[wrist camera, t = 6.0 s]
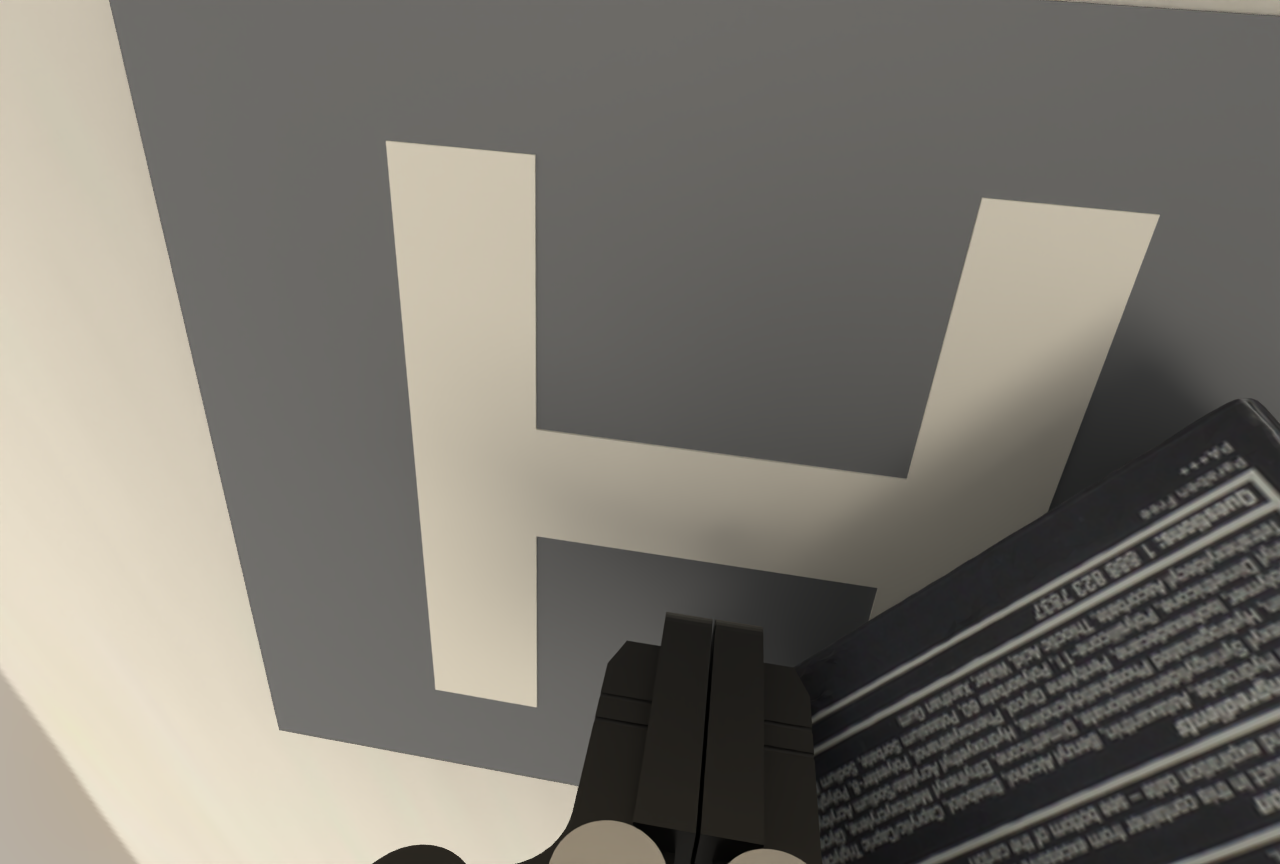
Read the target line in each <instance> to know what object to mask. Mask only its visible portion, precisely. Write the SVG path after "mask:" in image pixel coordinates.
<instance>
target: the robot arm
mask: <svg viewBox="0 0 1280 864" xmlns="http://www.w3.org/2000/svg"><path fill="white" fill-rule="evenodd" d="M712 624H713V619H709V618H703V617H697V616H691V615H684V614H678V613H672V612H666V616H665V622H664V629H663V635H662V641H661V646H657V645H651V644H645V643H639V642H633V641H626V642H625V643H624V645H623V646H622V647H621V648H620V649H619V650H618V652H617V653H616V654H615V655H614V656H613V657H612V659H611V660H610V661H609V662H608V663H607V667H606V672H605V676H604V680H603V684H602V689H601V694H600V698H599V702H598V706H597V710H596V714H595V720H594V723H593V727H592V731H591V736H590V740H589V744H588V748H587V753H586V757H585V761H584V766H583V770H582V774H581V778H580V783H579V787H578V791H577V795H576V800H575V804H574V808H573V812H572V815H571V818H570V821H569V823H568V825H567V827H566V829H565V830H564V832H563V833H562V835H561V836H560V837H559V839H558V840H557V841H556V842H555V843H554V844H553V845H552V846H551V847H549V848H548V849H547V850H545V851H544V852H543V853H541V854H539V855H537V856H535V857H534V858H532V859H529V860H526V861H524V862H521V863H517V864H822V857H821V844H820V830H819V816H818V802H817V788H816V774H815V760H814V759H813V757H814V745H813V734H812V717H811V703H810V696H809V694H808V692H807V690H806V688H805V687H804V685H803V683H802V681H801V679H800V677H799V676H798V674H797V672H796V670H795V668H794V667H787V666H781V665H775V664H769V663H764V647H763V627H761V626H755V625H748V624H742V623H736V622H729V621H723V620H717V619H715V622H714V627H713V632H712ZM711 637H712V638H711ZM373 864H466V863H465V862H464V861H463V860H462V859H461V858H460V857H459V856H457V855H456V854H454V853H453V852H451V851H449V850H447V849H445V848H442V847H438V846H434V845H413V846H408V847H404V848H400V849H398V850H395V851H393V852H391V853H389V854H387V855H385V856H384V857H382V858H380V859H379V860H377V861H376V862H374V863H373Z"/></svg>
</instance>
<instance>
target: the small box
mask: <svg viewBox="0 0 1280 864" xmlns="http://www.w3.org/2000/svg"><path fill="white" fill-rule="evenodd" d="M794 668H795V670H796V672H797V674H798V676H799V677H800V679H801V681H802V683H803V685H804V687H805V688H806V690H807V692H808V694H809V696H810V703H811V717H812V734H813V745H814V757H813V759H814V760H815V774H816V788H817V802H818V816H819V830H820V844H821V857H822V864H1280V423H1279V422H1278V421H1277V420H1276V419H1275V418H1274V416H1273V415H1272V414H1271V413H1270V412H1269V411H1268V410H1267V409H1266V407H1265V406H1263V405H1262V404H1261V403H1260V402H1259V401H1257V400H1255V399H1252V398H1241V399H1235V400H1233V401H1230V402H1228V403H1226V404H1224V405H1222V406H1220V407H1219V408H1217V409H1215V410H1213V411H1211V412H1210V413H1208V414H1206V415H1204V416H1203V417H1201V418H1200V419H1198V420H1196V421H1195V422H1193V423H1191V424H1190V425H1188V426H1187V427H1185V428H1184V429H1182V430H1181V431H1179V432H1178V433H1176V434H1175V435H1173V436H1171V437H1170V438H1168V439H1167V440H1165V441H1164V442H1162V443H1160V444H1159V445H1157V446H1155V447H1154V448H1152V449H1150V450H1149V451H1147V452H1145V453H1144V454H1142V455H1140V456H1138V457H1137V458H1135V459H1132V460H1130V461H1128V462H1127V463H1126V464H1124V465H1123V466H1122V467H1120V468H1118V469H1117V470H1115V471H1113V472H1111V473H1109V474H1108V475H1106V476H1105V477H1104V478H1102V479H1101V480H1100V481H1098V482H1096V483H1094V484H1093V485H1091V486H1089V487H1087V488H1085V489H1083V490H1082V491H1080V492H1079V493H1077V494H1076V495H1074V496H1073V497H1071V498H1070V499H1068V500H1066V501H1064V502H1063V503H1061V504H1059V505H1058V506H1056V507H1055V508H1053V509H1052V510H1050V511H1049V512H1047V513H1045V514H1044V515H1042V516H1041V517H1039V518H1038V519H1036V520H1034V521H1033V522H1031V523H1029V524H1028V525H1026V526H1024V527H1023V528H1021V529H1019V530H1017V531H1016V532H1014V533H1012V534H1011V535H1009V536H1007V537H1006V538H1004V539H1002V540H1001V541H999V542H998V543H996V544H994V545H993V546H991V547H989V548H988V549H986V550H985V551H983V552H982V553H980V554H979V555H977V556H976V557H974V558H972V559H970V560H968V561H966V562H965V563H963V564H962V565H960V566H958V567H957V568H955V569H954V570H952V571H951V572H949V573H948V574H946V575H945V576H943V577H941V578H939V579H937V580H936V581H934V582H932V583H930V584H929V585H927V586H926V587H924V588H923V589H921V590H919V591H918V592H916V593H914V594H912V595H910V596H909V597H907V598H906V599H904V600H903V601H901V602H900V603H898V604H896V605H895V606H893V607H891V608H889V609H887V610H886V611H884V612H882V613H881V614H879V615H877V616H876V617H874V618H873V619H871V620H869V621H868V622H866V623H864V624H862V625H861V626H860V627H858V628H857V629H855V630H854V631H852V632H850V633H847V634H846V635H844V636H843V637H841V638H840V639H838V640H837V641H835V642H834V643H832V644H830V645H829V646H827V647H826V648H824V649H822V650H821V651H819V652H817V653H815V654H814V655H812V656H810V657H808V658H807V659H805V660H804V661H802V662H800V663H799V664H797V665H796V666H794Z"/></svg>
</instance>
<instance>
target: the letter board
mask: <svg viewBox="0 0 1280 864" xmlns="http://www.w3.org/2000/svg"><path fill="white" fill-rule="evenodd" d="M109 2H110V6H111V10H112V15H113V19H114V23H115V28H116V32H117V36H118V40H119V45H120V49H121V53H122V58H123V62H124V66H125V70H126V75H127V79H128V83H129V88H130V92H131V96H132V100H133V105H134V109H135V113H136V118H137V122H138V126H139V130H140V135H141V139H142V143H143V148H144V152H145V156H146V161H147V165H148V169H149V173H150V178H151V182H152V186H153V191H154V195H155V199H156V203H157V208H158V212H159V216H160V221H161V225H162V229H163V233H164V238H165V242H166V246H167V251H168V255H169V259H170V263H171V268H172V272H173V276H174V281H175V285H176V289H177V293H178V298H179V302H180V306H181V311H182V315H183V319H184V324H185V328H186V332H187V336H188V341H189V345H190V349H191V354H192V358H193V362H194V366H195V371H196V375H197V379H198V384H199V388H200V392H201V396H202V401H203V405H204V409H205V414H206V418H207V422H208V426H209V431H210V435H211V439H212V444H213V448H214V452H215V456H216V461H217V465H218V469H219V474H220V478H221V482H222V486H223V491H224V495H225V499H226V504H227V508H228V512H229V517H230V521H231V525H232V529H233V534H234V538H235V542H236V547H237V551H238V555H239V559H240V564H241V568H242V572H243V577H244V581H245V585H246V589H247V594H248V598H249V602H250V607H251V611H252V615H253V619H254V624H255V628H256V632H257V637H258V641H259V645H260V649H261V654H262V658H263V662H264V667H265V671H266V675H267V680H268V684H269V688H270V692H271V697H272V701H273V705H274V710H275V714H276V718H277V722H278V727H279V730H282V731H287V732H293V733H298V734H303V735H309V736H314V737H319V738H325V739H330V740H335V741H341V742H346V743H351V744H357V745H362V746H367V747H373V748H378V749H383V750H389V751H394V752H399V753H405V754H410V755H415V756H421V757H426V758H431V759H437V760H442V761H447V762H453V763H458V764H463V765H469V766H474V767H479V768H485V769H490V770H495V771H501V772H506V773H511V774H517V775H522V776H527V777H533V778H538V779H543V780H549V781H554V782H559V783H565V784H570V785H575V786H579V783H580V778H581V774H582V770H583V766H584V761H585V757H586V753H587V748H588V744H589V740H590V736H591V731H592V727H593V723H594V720H595V714H596V710H597V706H598V702H599V698H600V694H601V689H602V684H603V680H604V676H605V672H606V667H607V663H608V662H609V661H610V660H611V659H612V657H613V656H614V655H615V654H616V653H617V652H618V650H619V649H620V648H621V647H622V646H623V645H624V643H625V642H626V641H633V642H639V643H645V644H651V645H657V646H661V641H662V635H663V629H664V622H665V616H666V612H672V613H678V614H684V615H691V616H697V617H703V618H709V619H713V624H712V632H713V627H714V622H715V619H717V620H723V621H729V622H736V623H742V624H748V625H755V626H761V627H763V647H764V663H769V664H775V665H781V666H787V667H794V666H796V665H797V664H799V663H800V662H802V661H804V660H805V659H807V658H808V657H810V656H812V655H814V654H815V653H817V652H819V651H821V650H822V649H824V648H826V647H827V646H829V645H830V644H832V643H834V642H835V641H837V640H838V639H840V638H841V637H843V636H844V635H846V634H847V633H850V632H852V631H854V630H855V629H857V628H858V627H860V626H861V625H862V624H864V623H866V622H868V621H869V620H871V619H873V618H874V617H876V616H877V615H879V614H881V613H882V612H884V611H886V610H887V609H889V608H891V607H893V606H895V605H896V604H898V603H900V602H901V601H903V600H904V599H906V598H907V597H909V596H910V595H912V594H914V593H916V592H918V591H919V590H921V589H923V588H924V587H926V586H927V585H929V584H930V583H932V582H934V581H936V580H937V579H939V578H941V577H943V576H945V575H946V574H948V573H949V572H951V571H952V570H954V569H955V568H957V567H958V566H960V565H962V564H963V563H965V562H966V561H968V560H970V559H972V558H974V557H976V556H977V555H979V554H980V553H982V552H983V551H985V550H986V549H988V548H989V547H991V546H993V545H994V544H996V543H998V542H999V541H1001V540H1002V539H1004V538H1006V537H1007V536H1009V535H1011V534H1012V533H1014V532H1016V531H1017V530H1019V529H1021V528H1023V527H1024V526H1026V525H1028V524H1029V523H1031V522H1033V521H1034V520H1036V519H1038V518H1039V517H1041V516H1042V515H1044V514H1045V513H1047V512H1049V511H1050V510H1052V509H1053V508H1055V507H1056V506H1058V505H1059V504H1061V503H1063V502H1064V501H1066V500H1068V499H1070V498H1071V497H1073V496H1074V495H1076V494H1077V493H1079V492H1080V491H1082V490H1083V489H1085V488H1087V487H1089V486H1091V485H1093V484H1094V483H1096V482H1098V481H1100V480H1101V479H1102V478H1104V477H1105V476H1106V475H1108V474H1109V473H1111V472H1113V471H1115V470H1117V469H1118V468H1120V467H1122V466H1123V465H1124V464H1126V463H1127V462H1128V461H1130V460H1132V459H1135V458H1137V457H1138V456H1140V455H1142V454H1144V453H1145V452H1147V451H1149V450H1150V449H1152V448H1154V447H1155V446H1157V445H1159V444H1160V443H1162V442H1164V441H1165V440H1167V439H1168V438H1170V437H1171V436H1173V435H1175V434H1176V433H1178V432H1179V431H1181V430H1182V429H1184V428H1185V427H1187V426H1188V425H1190V424H1191V423H1193V422H1195V421H1196V420H1198V419H1200V418H1201V417H1203V416H1204V415H1206V414H1208V413H1210V412H1211V411H1213V410H1215V409H1217V408H1219V407H1220V406H1222V405H1224V404H1226V403H1228V402H1230V401H1233V400H1235V399H1241V398H1252V399H1255V400H1257V401H1259V402H1260V403H1261V404H1262V405H1263V406H1265V407H1266V409H1267V410H1268V411H1269V412H1270V413H1271V414H1272V415H1273V416H1274V418H1275V419H1276V420H1277V421H1278V422H1279V423H1280V16H1270V15H1255V14H1241V13H1226V12H1211V11H1197V10H1182V9H1167V8H1152V7H1138V6H1123V5H1108V4H1094V3H1079V2H1064V1H1049V0H109ZM711 638H712V637H711Z"/></svg>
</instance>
